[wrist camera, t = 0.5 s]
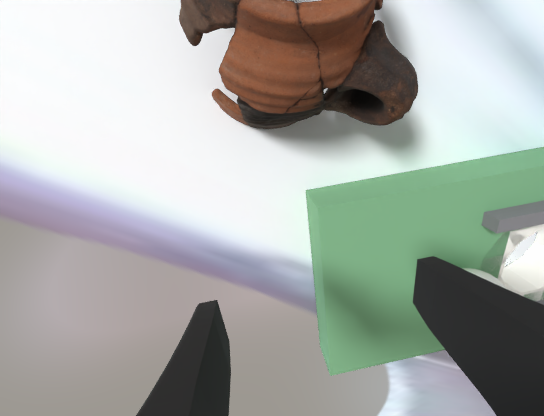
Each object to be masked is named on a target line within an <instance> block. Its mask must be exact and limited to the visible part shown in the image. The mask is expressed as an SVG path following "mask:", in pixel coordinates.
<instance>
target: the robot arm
mask: <svg viewBox="0 0 544 416" xmlns="http://www.w3.org/2000/svg"><path fill="white" fill-rule="evenodd" d="M413 304H414V306H415V307H416V309H417V311H418V312H419V314H420V316H421V317H422V319H423V320H424V322H425V323H426V325H427V326H428V328H429V329H430V331H431V332H432V333H433V335H434V336H435V337H436V338H437V340H438V341H439V342H440V343H441V345H442V346H443V347H444V348H445V350H446V351H447V352H448V353H449V355H450V356H451V357H452V358H453V360H454V361H455V362H456V363H457V365H458V366H459V367H460V368H461V370H462V371H463V372H464V373H465V375H466V376H467V377H468V378H469V380H470V381H471V382H472V383H473V385H474V386H475V387H476V388H477V389H478V391H479V392H480V393H481V395H482V396H483V397H484V399H485V400H486V401H487V403H488V404H489V405H490V407H491V408H492V409H493V411H494V412H495V414H496V415H497V416H544V305H543V304H540V303H538V302H535V301H533V300H531V299H528V298H526V297H524V296H521V295H519V294H517V293H514V292H512V291H510V290H508V289H505V288H503V287H501V286H499V285H497V284H494V283H492V282H490V281H488V280H486V279H483V278H481V277H479V276H477V275H475V274H473V273H471V272H468V271H466V270H464V269H462V268H460V267H458V266H455V265H453V264H451V263H449V262H447V261H444V260H442V259H440V258H437V257H435V256H431V257H426V258H421V259H417V266H416V276H415V285H414V294H413ZM230 376H231V367H230V346H229V339H228V336H227V332H226V329H225V325H224V322H223V319H222V315H221V312H220V308H219V305H218V302H217V300H214V301H210V302H205V303H200V304H199V305H198V306H197V307H196V309H195V312H194V314H193V316H192V318H191V320H190V323H189V325H188V327H187V328H186V330H185V332H184V335H183V336H182V339H181V340H180V342H179V344H178V346H177V348H176V350H175V351H174V353H173V355H172V357H171V359H170V361H169V363H168V364H167V366H166V368H165V370H164V371H163V373H162V375H161V376H160V378H159V380H158V382H157V383H156V385H155V387H154V388H153V390H152V391H151V393H150V395H149V397H148V398H147V400H146V401H145V403H144V404H143V406H142V407H141V409H140V410H139V412H138V414H137V415H136V416H228V415H229V397H230Z"/></svg>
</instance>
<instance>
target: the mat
mask: <svg viewBox="0 0 544 416" xmlns="http://www.w3.org/2000/svg"><path fill="white" fill-rule="evenodd" d="M306 198H307V209H308V220H309V231H310V242H311V253H312V263H313V274H314V285H315V296H316V307H317V318H318V328H319V339H320V347H321V350H322V353H323V356H324V358H325V361H326V364H327V367H328V370H329V373H330V375H331V376H332V375H335V374H340V373H345V372H349V371H353V370H358V369H362V368H367V367H371V366H375V365H380V364H384V363H389V362H393V361H397V360H402V359H406V358H411V357H415V356H419V355H424V354H428V353H433V352H437V351H441V350H445V348H444V347H443V346H442V345H441V343H440V342H439V341H438V340H437V338H436V337H435V336H434V335H433V333H432V332H431V331H430V329H429V328H428V326H427V325H426V323H425V322H424V320H423V319H422V317H421V316H420V314H419V312H418V311H417V309H416V307H415V306H414V304H413V294H414V285H415V276H416V266H417V259H421V258H426V257H431V256H435V257H437V258H440V259H442V260H444V261H447V262H449V263H451V264H453V265H455V266H458V267H460V268H472V269H477V270H481V271H484V272H486V273H489V274H491V275H492V276H494V277H495V278H497V279H498V280H499V281H500V282H501V283H502V284H503V285H504V286H505V287H506V288H507V289H508V290H510V291H512V292H514V293H517V294H519V295H521V296H524V297H526V298H528V299H531V300H533V301H535V302H538V303H540V304H543V305H544V147H541V148H536V149H530V150H525V151H519V152H514V153H508V154H503V155H497V156H492V157H486V158H481V159H475V160H470V161H464V162H459V163H453V164H448V165H442V166H437V167H431V168H426V169H420V170H415V171H409V172H404V173H398V174H393V175H387V176H382V177H377V178H371V179H366V180H360V181H355V182H349V183H344V184H338V185H333V186H327V187H322V188H316V189H311V190H306ZM536 232H537V235H536V238H535V241H534V243H533V244H532V245H531V246H530V248H529V249H528V250H527V251H526V252H525V253H524V255H523V256H522V257H520V258H519V259H517V260H516V261H514V262H512V263H511V264H509V265H508V266H506V267H504V265H505V262H506V259H507V258H508V257H509V256H510V254H511V253H512V252H513V251H514V250H515V248H516V247H517V246H518V245H519V244H520V242H522V241H523V240H525V239H527V238H528V237H530V236H531V235H533V234H534V233H536Z"/></svg>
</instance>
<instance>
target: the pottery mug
mask: <svg viewBox="0 0 544 416" xmlns="http://www.w3.org/2000/svg"><path fill="white" fill-rule="evenodd" d="M382 2H383V0H322V1H313V2H302V3H294V2H292V1H287V0H181V10H180V15H179V20H180V24H181V26H182V28H183V31H184V33H185V35H186V37H187V39H188V41H189V42H190V43H191V44H192V45H193V46H197V45H198V44H199V43H200V41H201V39H202V36H203V33H209V32H212V31H214V30H217V29H220V28H224V29H227V28H235V32H234V35H233V36H232V38H231V40H230V42H229V46H228V49H227V51H226V53H225V56H224V58H223V61H222V63H221V65H220V68H219V73H220V75H221V78H222V82H223V83H224V85H225V87H226V88H227V89H228V90H229V91H231V92H232V93H234V94H236V95H237V96H238V99H237V102H238V104H236V103H235V102H234V101H232V100H231V99H230V98H228V97H227V96H226V95H225V94H224V93H223V92H222V91H220V90H219V89H215V90H214V91H213V92H212V97H213V99H214V100H215V101H216V102H217V103H218V105H219V106H220V108H221V109H222V110H223V111H224V112H226V113H227V114H228V115H229V116H231V117H232V118H234V119H235V120H237V121H239V122H241V123H244V124H246V125H249V126H251V127H255V128H262V129H275V128H282V127H285V126H289V125H291V124H293V123H295V122H297V121H300V120H304V119H307V118H309V117H312V116H314V115H318V114H320V113H321V112H322V111H323V110H330V111H338V112H342V113H345V114H347V115H349V116H350V117H352V118H355V119H357V120H359V121H362V122H364V123H368V124H373V125H388V124H390V123H392V122H394V121H396V120H399V119H401V118H403V116H404V114H405V113H407V112H408V111H409V110H410V108H411V106H412V104H413V101H414V100H415V98H416V96H417V93H418V81H417V75H416V72H415V69H414V67H413V66H412V64H411V63H410V62H409V60H408V59H407V58H406V57H405V56H403V55H402V54H401V53H399V52H398V51H397V50H396V49H395V47H394V46H393V45H392V44H391V43H390V42H389V40H388V38H387V36H386V33H385V29H384V24H383V23H382V22H381V21H379V20H378V21H376V22H374V23H373V20H374V17H375V14H374V10H380V9H381V8H382ZM372 23H373V24H372ZM326 88H328V89H327V91H326V93H325V94H324V92H323V90H324V89H326Z"/></svg>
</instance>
